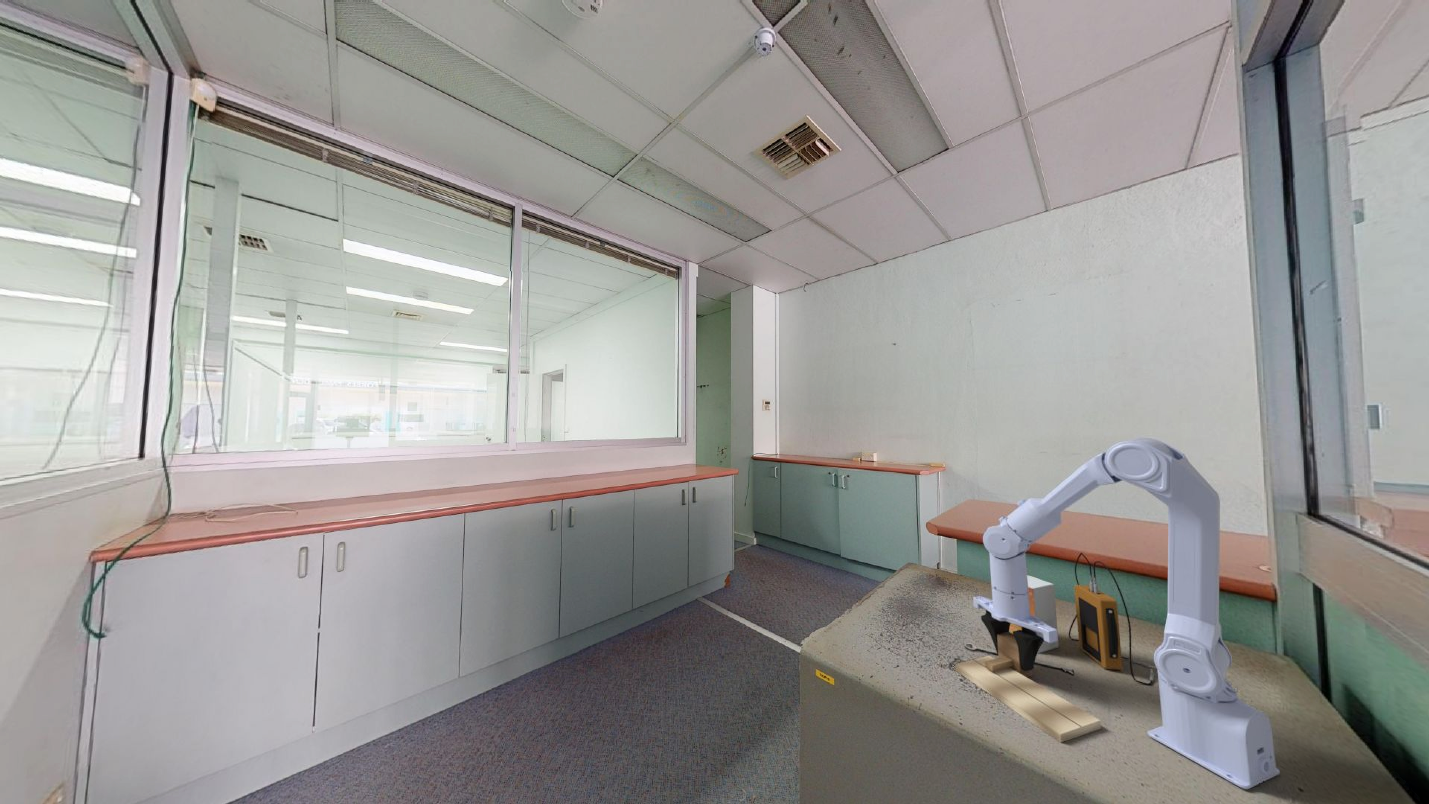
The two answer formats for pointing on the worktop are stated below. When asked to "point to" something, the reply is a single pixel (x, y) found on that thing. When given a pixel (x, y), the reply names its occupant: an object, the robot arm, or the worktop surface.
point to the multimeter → (1101, 625)
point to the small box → (1041, 607)
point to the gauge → (1007, 655)
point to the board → (1030, 700)
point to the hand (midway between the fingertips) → (1014, 662)
